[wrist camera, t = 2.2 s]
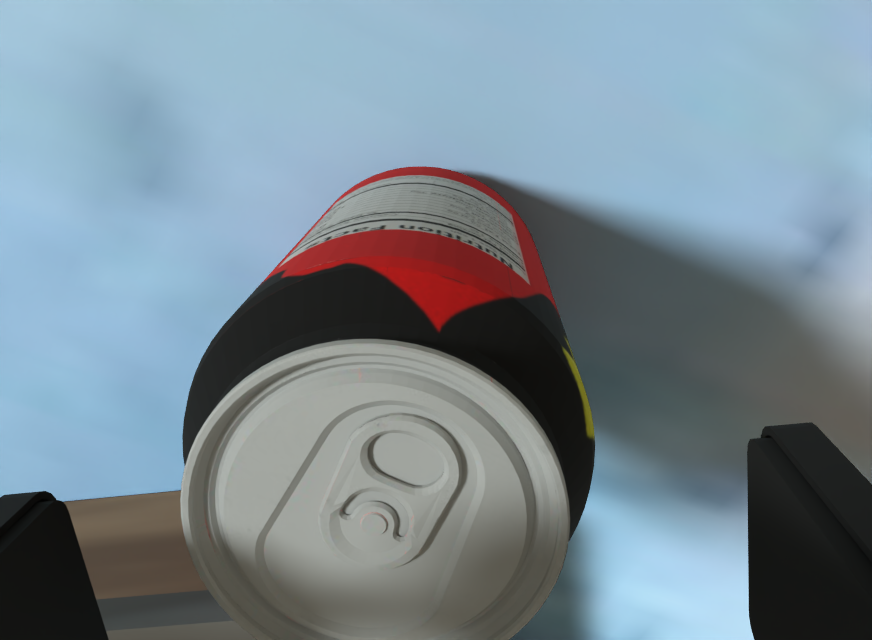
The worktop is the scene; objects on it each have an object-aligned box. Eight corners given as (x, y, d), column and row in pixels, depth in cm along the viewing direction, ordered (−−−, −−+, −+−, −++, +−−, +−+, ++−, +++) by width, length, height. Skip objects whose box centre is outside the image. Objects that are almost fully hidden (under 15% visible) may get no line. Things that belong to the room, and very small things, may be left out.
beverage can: (279, 326, 22) (78, 616, 11) (362, 120, 20) (224, 208, 9) (478, 412, 23) (487, 771, 11) (578, 220, 21) (711, 423, 9)
